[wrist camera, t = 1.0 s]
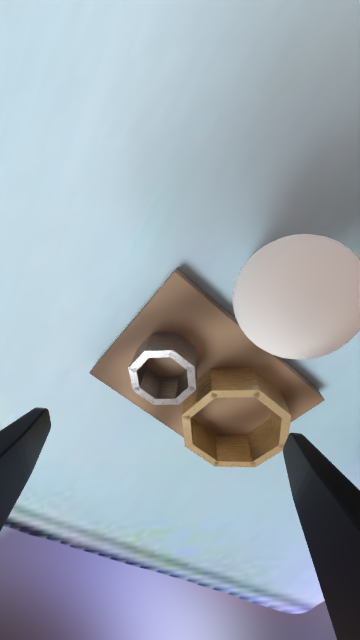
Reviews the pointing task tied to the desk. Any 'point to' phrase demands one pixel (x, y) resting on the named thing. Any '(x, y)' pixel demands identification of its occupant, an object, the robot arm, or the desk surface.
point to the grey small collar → (164, 387)
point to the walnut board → (202, 360)
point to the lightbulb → (299, 296)
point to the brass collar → (228, 446)
